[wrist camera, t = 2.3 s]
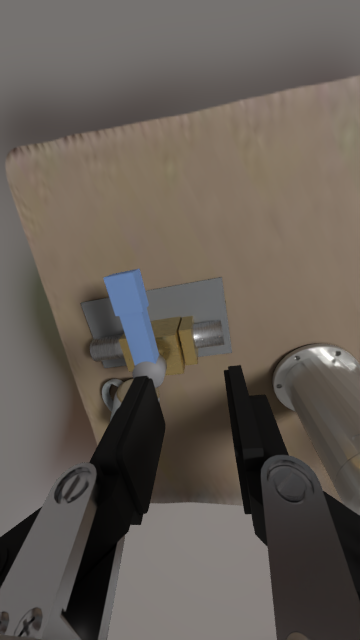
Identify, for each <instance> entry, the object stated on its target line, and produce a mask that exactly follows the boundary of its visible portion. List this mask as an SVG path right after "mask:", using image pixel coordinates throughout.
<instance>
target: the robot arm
mask: <svg viewBox="0 0 360 640" xmlns="http://www.w3.org/2000/svg"><path fill="white" fill-rule="evenodd" d="M228 369H229V370H224V376H225V383H226V391H227V398H228V406H229V413H230V421H231V428H232V436H233V443H234V450H235V456H236V463H237V469H238V475H239V481H240V487H241V494H242V500H243V506H244V512H245V514H252V520H253V526H254V530H255V534H256V535H257V536H258V537H259V538H260V540H261V541H262V542H263V543H264V544H265V545H266V546H267V547H268V555H269V565H270V575H271V585H272V595H273V604H274V615H275V625H276V635H277V640H360V364H359V363H358V361H357V360H356V359H355V357H353V356H352V355H351V354H350V353H349V352H347V351H346V350H344V349H343V348H340V347H338V346H335V345H330V344H311V345H307V346H303V347H300V348H298V349H296V350H294V351H292V352H291V353H289V354H288V355H286V356H285V357H284V358H283V359H282V360H281V361H280V363H279V364H278V365H277V367H276V369H275V371H274V374H273V378H272V380H273V388H274V391H275V394H276V396H277V398H278V399H279V400H280V402H281V403H282V404H283V405H284V406H286V407H287V408H289V409H291V410H293V411H295V412H296V413H297V415H298V417H299V419H300V421H301V423H302V424H303V426H304V428H305V430H306V432H307V434H308V436H309V438H310V440H311V442H312V444H313V446H314V448H315V450H316V452H317V454H318V456H319V458H320V459H321V461H322V463H323V465H324V467H325V469H326V471H327V473H328V475H329V477H330V479H331V481H332V483H333V485H334V487H335V489H336V490H337V493H338V495H339V497H340V499H341V500H342V502H343V504H344V505H343V504H342V503H340V502H339V501H337V500H336V499H335V498H333V497H332V496H330V495H329V494H327V493H326V492H324V491H323V490H322V487H321V484H320V482H319V480H318V478H317V476H316V474H315V473H314V471H313V470H312V469H311V468H310V467H309V466H308V465H307V464H305V463H304V462H303V461H301V460H299V459H297V458H295V457H293V456H289V455H288V452H287V449H286V447H285V444H284V442H283V439H282V436H281V434H280V431H279V428H278V426H277V423H276V420H275V418H274V415H273V413H272V410H271V407H270V405H269V402H268V399H267V397H266V395H255V396H249V394H248V390H247V387H246V383H245V379H244V376H243V372H242V368H241V365H238V366H229V367H228ZM164 433H165V421H164V417H163V414H162V411H161V407H160V404H159V400H158V397H157V393H156V390H155V386H154V383H153V380H152V378H149V377H148V376H138V377H135V378H134V379H133V381H132V383H131V385H130V387H129V389H128V391H127V393H126V395H125V397H124V399H123V401H122V403H121V405H120V407H119V408H118V409H117V410H116V412H115V414H114V416H113V417H112V419H111V421H110V423H109V425H108V427H107V429H106V431H105V433H104V435H103V437H102V439H101V441H100V443H99V445H98V447H97V448H96V451H95V452H94V454H93V456H92V458H91V460H90V462H89V463H80V464H77V465H75V466H73V467H71V468H69V469H68V470H67V471H66V472H64V473H63V474H62V475H61V476H60V477H59V478H58V480H57V481H56V482H55V484H54V485H53V487H52V489H51V490H50V492H49V494H48V497H47V498H46V500H45V502H44V504H43V506H42V507H41V508H39V509H38V510H37V511H35V512H34V513H33V514H31V515H30V516H29V517H27V518H26V519H24V520H23V521H22V522H20V523H19V524H18V525H16V526H15V527H14V528H12V529H11V530H10V531H8V532H7V533H5V534H4V535H3V536H2V537H0V640H107V637H108V631H109V624H110V620H111V614H112V608H113V603H114V597H115V591H116V586H117V580H118V574H119V569H120V563H121V557H122V551H123V546H124V539H125V534H126V533H127V532H128V530H129V527H130V525H141V522H142V517H143V514H145V513H147V511H148V508H149V504H150V499H151V495H152V490H153V485H154V480H155V476H156V471H157V466H158V461H159V457H160V452H161V447H162V442H163V438H164Z"/></svg>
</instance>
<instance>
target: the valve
mask: <svg viewBox="0 0 360 640" xmlns="http://www.w3.org/2000/svg"><path fill="white" fill-rule="evenodd" d="M150 322H151V326H152V330H153V333H154V337H155V341H156V345H157V348H158V352H159V354H160V355H161V356H162V357H163V358H164V359H165V361H166V363H167V369H166V373H165V375H174V374H183V373H184V369H185V363H186V365H192V364H198V348H204V347H212V346H220V345H225V344H224V337H223V330H222V324H221V320H218V321H211V322H204V323H197V324H194V320H193V316H187V317H182V319H181V316H179V317H172V318H166V319H160V320H153V321H150ZM90 354H91V357H92V358H93V360H95V361H102V360H110V359H118V358H125V361H126V364H127V367H128V370H129V372H132V371H133V369H134V367H135V364H134V361H133V358H132V355H131V352H130V348H129V345H128V342H127V339H126V336H125V333H124V334H123V335H116V336H109V337H103V338H96V339H93V340H92V341H91V344H90Z"/></svg>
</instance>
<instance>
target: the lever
mask: <svg viewBox="0 0 360 640" xmlns="http://www.w3.org/2000/svg"><path fill="white" fill-rule="evenodd" d="M104 282H105V285H106V288H107V291H108V294H109V297H110V300H111V303H112V307H113V310H114V313H115V316H119V317H120V320H121V323H122V326H123V329H124V332H125V336H126V339H127V342H128V345H129V348H130V352H131V355H132V358H133V361H134V364H135V367H134V369H133V378H135V377H138V376H148V377H149V378H152V380H153V383H154V386H155V388H157V387H159V386H160V385H161V384H162V382H163V380H164V376H165V373H166V369H167V363H166V361H165V359H164V358H163V357H162V356H161V355H160V354H159V352H158V348H157V345H156V341H155V337H154V333H153V330H152V326H151V322H150V318H149V315H148V311H147V307H148V306H149V303H148V299H147V296H146V292H145V288H144V284H143V280H142V276H141V273H140V269H135V270H130V271H125V272H120V273H115V274H112V275H109V276H107V277H104Z"/></svg>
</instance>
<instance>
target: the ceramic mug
mask: <svg viewBox="0 0 360 640" xmlns="http://www.w3.org/2000/svg"><path fill="white" fill-rule="evenodd" d="M132 381H133V379H130V380H127V381H125V382H123V381H121V380H119V379H111V380H109V381H108V382H106V383H105V384H104V386H103V388H102V397H103V400H104V402H105V404H106V406H107V407H108V408H109V410H110V411H111V412H112V414H111V419H112V417H113V416H114V414H115V412H116V410H117V409H118V408H119V407H120V405H121V403H122V401H123V399H124V397H125V395H126V393H127V391H128V389H129V387H130V385H131V383H132ZM111 384H113V385H115V386H117V387H118V389H117V391H116V394H115V398H114V401H113V400H112V398H111V396H110V393H109V390H110V386H111ZM155 390H156V393H157V397H158V400H159V391H158V389H157V388H155ZM111 419H110V421H111Z"/></svg>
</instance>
